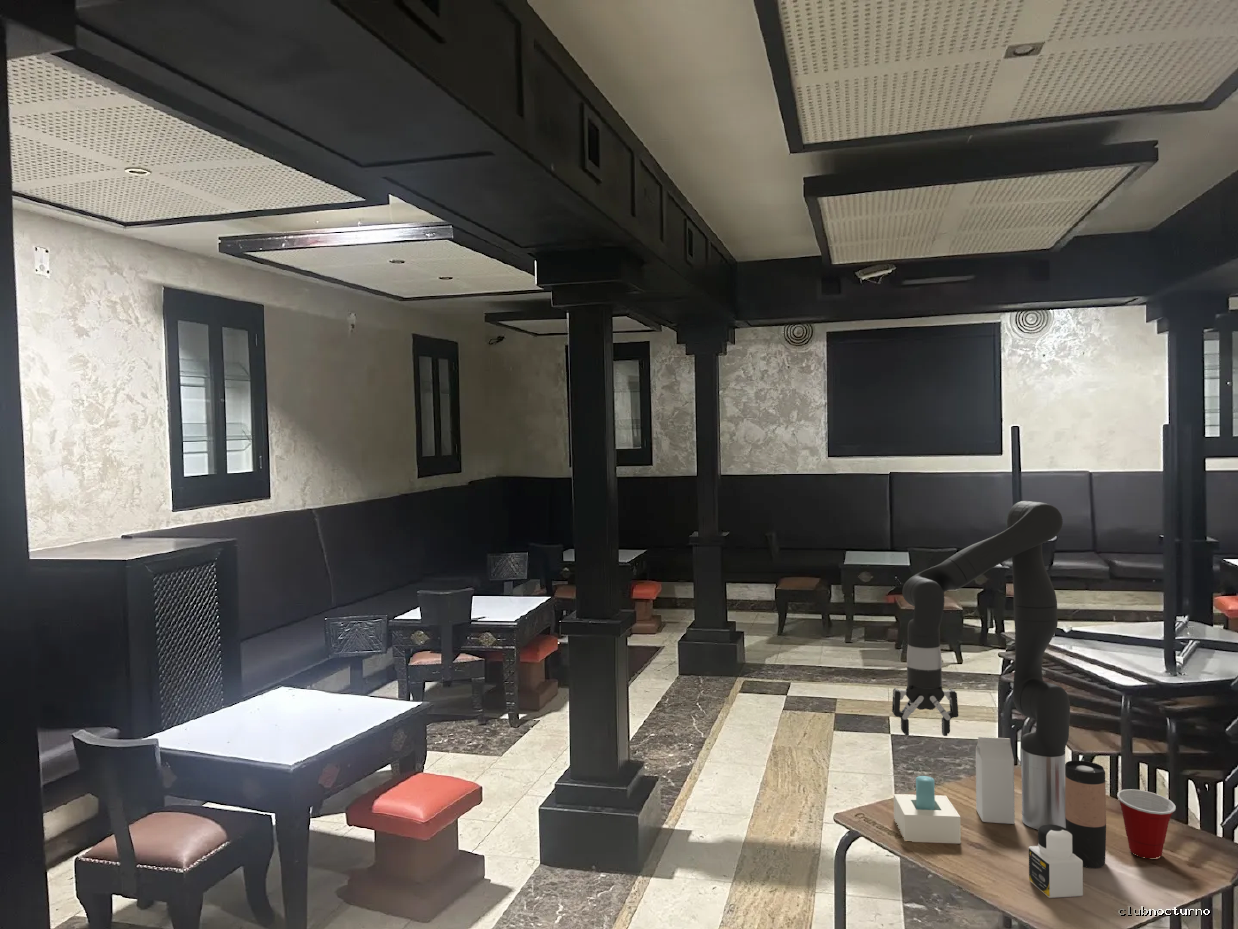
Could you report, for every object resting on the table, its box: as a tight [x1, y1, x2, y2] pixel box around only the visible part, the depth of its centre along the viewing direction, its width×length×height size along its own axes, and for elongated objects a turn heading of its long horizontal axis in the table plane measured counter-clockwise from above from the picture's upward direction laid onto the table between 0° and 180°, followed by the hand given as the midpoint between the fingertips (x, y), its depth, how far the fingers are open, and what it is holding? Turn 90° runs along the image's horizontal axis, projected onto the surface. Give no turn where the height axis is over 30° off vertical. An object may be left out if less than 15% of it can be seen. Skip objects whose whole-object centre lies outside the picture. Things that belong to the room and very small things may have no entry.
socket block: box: [893, 793, 962, 844], centre depth 198 cm, size 12×12×6 cm
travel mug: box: [1065, 759, 1107, 869], centre depth 182 cm, size 8×8×20 cm
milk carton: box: [975, 736, 1016, 825], centre depth 204 cm, size 7×7×19 cm
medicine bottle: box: [1028, 824, 1084, 899], centre depth 171 cm, size 7×7×12 cm
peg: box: [915, 775, 936, 810], centre depth 197 cm, size 4×4×12 cm
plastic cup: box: [1116, 788, 1177, 858], centre depth 185 cm, size 11×11×12 cm
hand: (925, 735), depth 198 cm, fingers open, 8 cm apart
